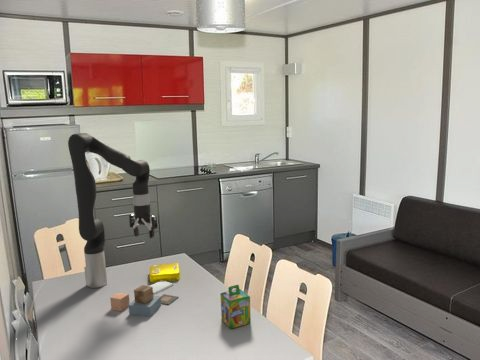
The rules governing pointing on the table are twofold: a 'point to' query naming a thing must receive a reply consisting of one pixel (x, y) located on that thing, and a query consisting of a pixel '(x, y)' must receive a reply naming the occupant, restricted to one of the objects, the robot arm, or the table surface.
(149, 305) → the slate base block
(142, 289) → the walnut cube
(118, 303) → the terracotta cube
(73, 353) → the table surface
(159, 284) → the hard drive
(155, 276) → the element tile
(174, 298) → the tile
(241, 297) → the chalk box
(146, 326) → the table surface
